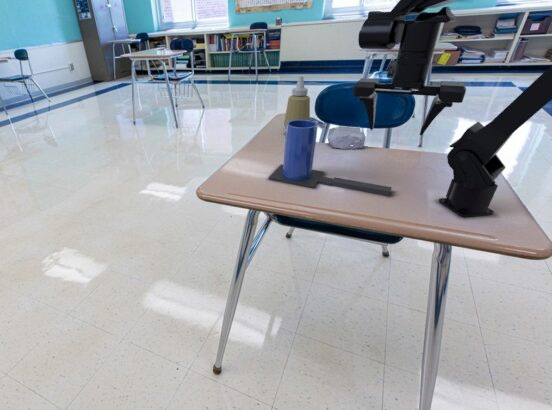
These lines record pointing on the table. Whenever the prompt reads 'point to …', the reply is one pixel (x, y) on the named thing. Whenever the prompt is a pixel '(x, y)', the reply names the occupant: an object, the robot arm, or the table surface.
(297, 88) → the squeeze bottle
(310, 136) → the cup
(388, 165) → the table surface
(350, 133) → the stone block
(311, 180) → the spatula
